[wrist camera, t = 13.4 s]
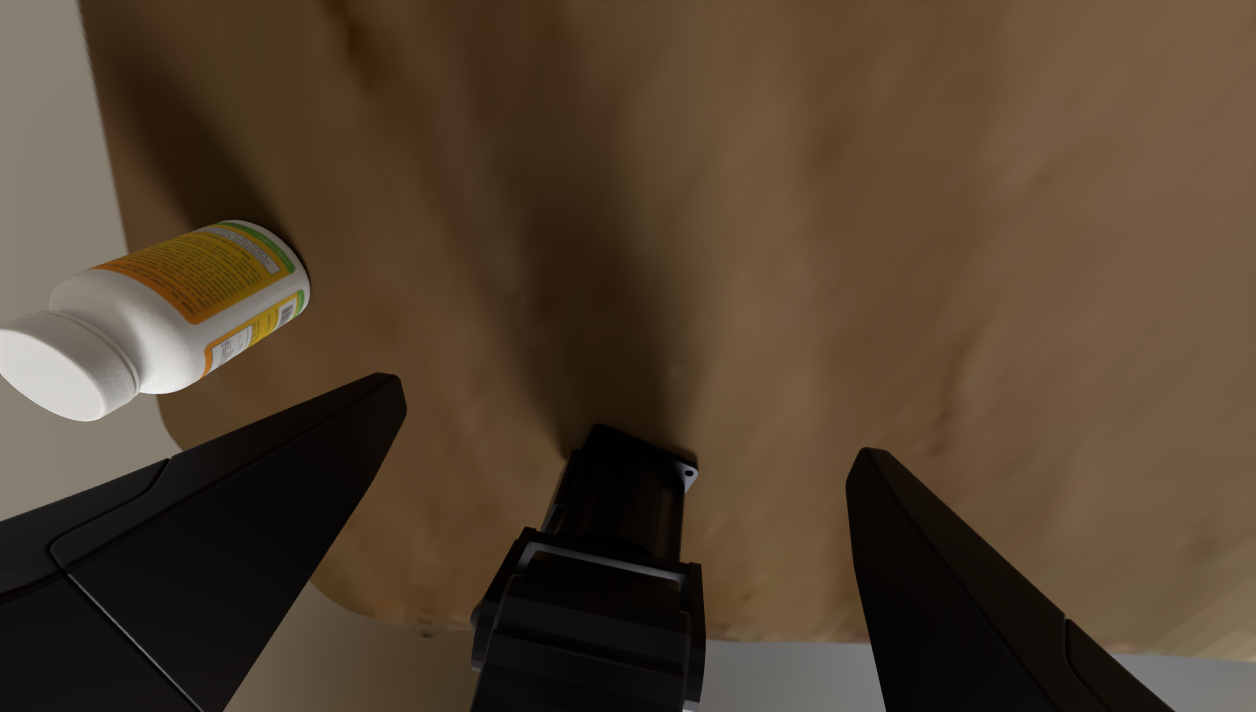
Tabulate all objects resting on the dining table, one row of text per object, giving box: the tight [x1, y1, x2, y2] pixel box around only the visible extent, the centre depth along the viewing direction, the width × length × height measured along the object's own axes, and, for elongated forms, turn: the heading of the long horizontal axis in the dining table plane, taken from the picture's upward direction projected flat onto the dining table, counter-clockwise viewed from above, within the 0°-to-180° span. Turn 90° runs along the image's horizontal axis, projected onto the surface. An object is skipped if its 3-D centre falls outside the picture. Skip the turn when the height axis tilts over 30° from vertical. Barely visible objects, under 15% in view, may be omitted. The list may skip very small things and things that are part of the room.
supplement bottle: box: [0, 220, 310, 421], centre depth 21 cm, size 5×5×10 cm
